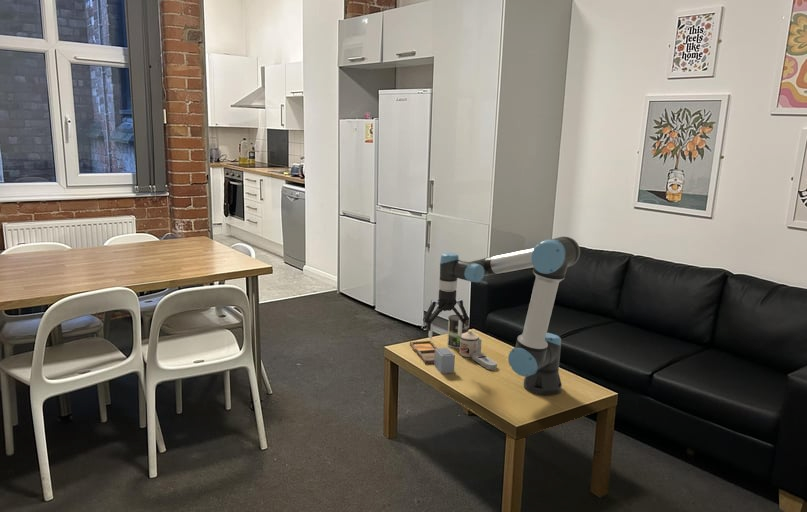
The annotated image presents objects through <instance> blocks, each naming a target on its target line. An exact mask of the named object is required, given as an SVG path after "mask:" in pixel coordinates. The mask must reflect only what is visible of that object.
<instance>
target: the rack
mask: <svg viewBox="0 0 807 512" xmlns="http://www.w3.org/2000/svg"><path fill="white" fill-rule="evenodd" d="M409 346H410V348H411V349H412V350H413V351H414V353H416V354H417V356H418V358H420V359H421V361H422V362H423V363H424V365H431V364H433V365H434V358H435V349H438V347H437V346H436V345H435V344H434V342H433V341H432V340H425V341H424V340H423V341H422V340H421V341H410V342H409Z"/></svg>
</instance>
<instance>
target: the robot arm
mask: <svg viewBox="0 0 807 512" xmlns="http://www.w3.org/2000/svg"><path fill="white" fill-rule="evenodd" d="M580 256H581V247H580V245H579V244H578V242H577V241H576V240H575V239H574V238H571V237H569V236H560V237H555V238H547V239H545V240H543V241H541V242H538V243H537V244H536V245H535V246H534V247H531V248H528V249H523V250H522V249H521V250H518V251H517V250H516V251H513V252H509V253H504V254H499V255H495V256H489V257H488V256H487V257H484V258H480V259H475V260H472V261H465V260H460V258H459V255H458V253H454V252H453V253H452V252H444V253H442V254H441V255H440V263H439V283H438V299H437V300H434V299H432V300H431V301H430V306H429V307H428V309H427V311H426V313H425V315H424V316H423V319H422V320H423V322H424V323H426V330H427V331H428V338H429V339H433V329H434V327H433V326H434V324H433V321H435V319H436V318H437V317H438V316H439V315H440V313H442V312H447V311H448V312H449V311H450V312H451V311H453V313H454V315H457V316H458V317H459V319H460V320H461V321H460V320H459V323H458V335H459V336H460V337H462V329H464V323H465V322H466V320H469V318H470V317H469V316H468V313H467V311H466V309H465V307H464V301H463V299H461V298H458V299H457V288H458V279H460V280H464V281H467V282H471V283H479V282H481V281H482V280H483V278H484V277H487V276H493V275H497V274H502V273H509V272H514V271H520V270H524V269H525V270H526V269H531V268H533V270H532V273H533V274H534V276H535V280H534V282H533V287H532V293H531V295H530V296H531V298H530V301H529V304H528V310H527V312H526V313H527V314H526V317H525V322H524V326H523V330H522V333H521V334H520V335H517V339H516V343H515V347H514V348H512V349H511V350H510V352H508V353H509V354H508V357H507V361H508V364H509V366H510V367H511V369H512V371H513V372H514V373H515V374H517V375H518V376H521V377H524V379H523V387H524V389H525V390H527V391H528V392H530V393H532V394H535V395H540V396H556V395H558V394H560V393H561V392H562V387H563V386H562V381H561V375H560V374H559V373H560V372H559V369H560V359H561V349H562V338H561V336H559V335H558V334H555V333H554V334H553V333H550V332H548V329H549V324H550V320H551V316H552V312H553V308H554V304H555V300H556V295H557V292H558V288H559V284H560V282H562V281H563V280H565V278H566V273H567V270H568V268H569V267H572V266H573V265H575V264H577V261H578V260H579V258H580ZM437 305H438V306H437ZM456 305H458V306H459V309H460V311H461V313H462V314H461V313H460V312H459V311H458V310H457V308H456ZM435 307H436V308H435ZM434 309H435V310H434ZM461 315H463V316H464V317H462V316H461ZM468 317H469V318H468ZM469 321H470V320H469Z"/></svg>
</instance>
